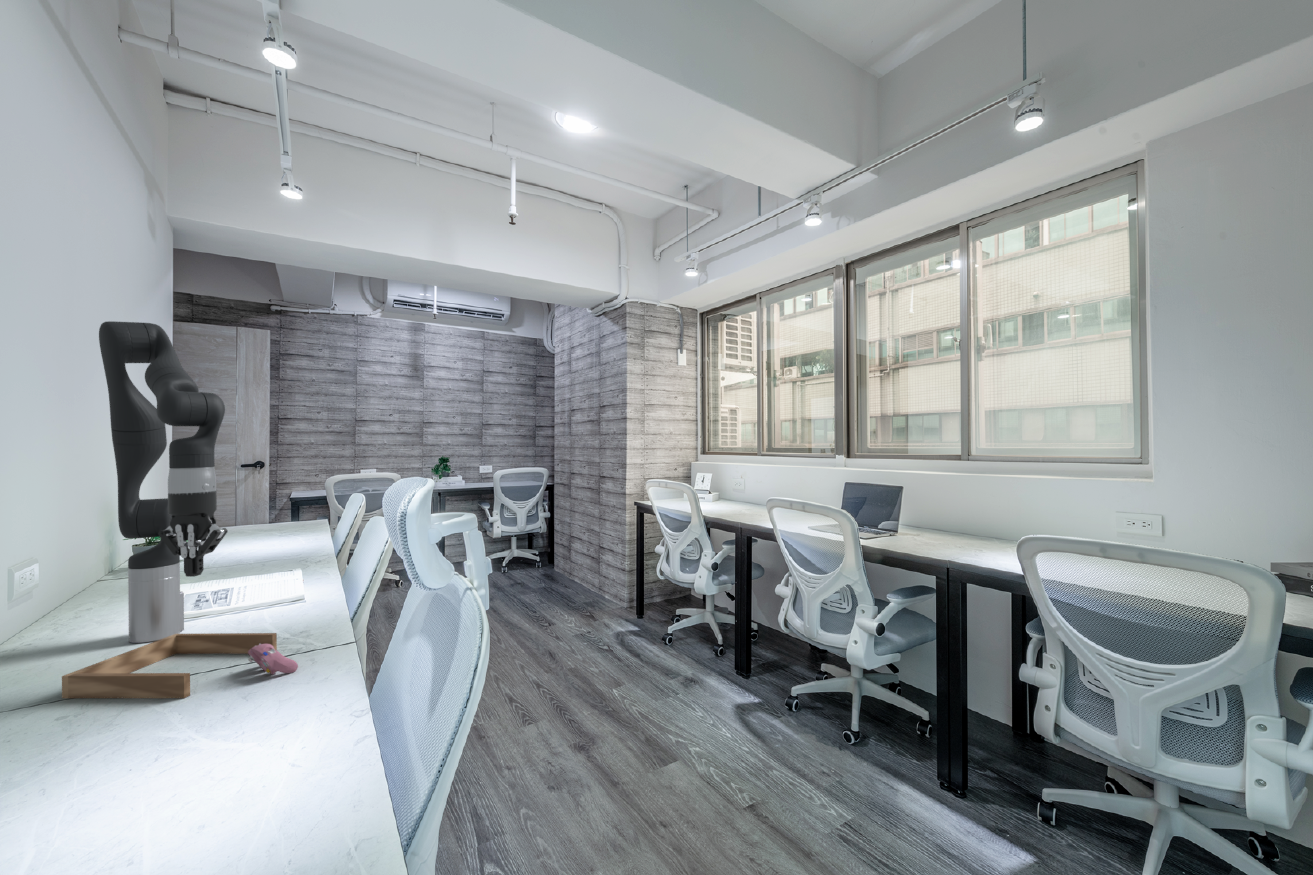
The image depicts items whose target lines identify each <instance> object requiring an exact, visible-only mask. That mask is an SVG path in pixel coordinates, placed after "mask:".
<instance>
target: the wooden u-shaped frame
mask: <svg viewBox="0 0 1313 875" xmlns="http://www.w3.org/2000/svg"><path fill="white" fill-rule="evenodd" d="M277 639H278V637H277V632H260V633H259V632H251V633H249V632H245V633H243V632H241V633H240V632H237V633H235V632H232V633H228V632H227V633H226V632H225V633H221V632H220V633H217V632H216V633H215V632H214V633H212V632H209V633H178V634H174V635H171V636H169V637H166V638H163V639H160V640H156V641H151V642H149V643H148V644H147V643H146V644H144V645H142V646H139V647H136V648H134V649H132V650H129V651H125V652H123V653H120V654H118V655H116V656H112V657H110V658H107V659H104V660H102V661H99V662H96V663H93V664H91V665H89V666H85V667H82V668H80V669H77V670H75V671H72V672H69V673H67V674H64V675H62V676H61V699H186V698H187V697H190V696H191V673H190V672H163V673H162V672H156V673H155V672H153V673H152V672H149V673H148V672H147V673H146V672H143V673H139V672H136V671H138V670H140V669H143V668H145V667H147V666H150V665H153V664H155V663H157V662H160V661H162V660H165V659H167V658H170V657H172V656H175V655H176V654H177V655H180V654H181V655H183V654H184V655H186V654H187V655H191V654H193V655H194V654H195V655H198V654H204V655H206V654H208V655H209V654H210V655H212V654H219V655H220V654H221V655H222V654H225V655H226V654H232V655H233V654H234V655H235V654H236V655H237V654H240V655H241V654H248V651H249V650H250V649H252V648H253V647H254V646H258V645H259V644H271V645H272V646H273V647H274V649H275V650H277V651H278V645H277V644H278V643H277V642H278V641H277ZM133 672H135V673H133Z"/></svg>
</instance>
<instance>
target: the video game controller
mask: <svg viewBox="0 0 1313 875" xmlns="http://www.w3.org/2000/svg"><path fill="white" fill-rule="evenodd" d="M247 654H248V655H249V657H247V660H248V661H249V662H250V663H253V662H255V663H256V664H257V665H258V666H259V668H261V670H263V671H264V672H266V673H268V674H271V676H273V675H275V673H277V672H279V673H284V674H292V673H294V672H296V671H297V670H298V668H299V664H298V662H296V661H295V660H293V659H291V658H289V657H286V656H285V655H283V654H282V653H280V651H278V649H277V650H275V649H274V647H273V646H272V645H271V644H259V645H258V646H254V647H253V648H252V649H250V650H249V651H248V653H247Z"/></svg>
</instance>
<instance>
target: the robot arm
mask: <svg viewBox="0 0 1313 875" xmlns="http://www.w3.org/2000/svg"><path fill="white" fill-rule="evenodd" d="M98 342H99V349H100V354H101V359H102V364H103V369H104V376H105V380H106V384H107V392H108V399H109V400H108V402H109V413H110V414H109V416H110V428H111V430H110V431H111V438H112V439H111V441H112V447H113V452H114V453H113V454H114V459H115V460H114V461H115V466H116V469H115V470H116V474H117V476H116V477H117V478H116V479H117V514H118V515H117V516H118V518H117V520H118V528H119V531H120V534H121V535H122V537H123V538H125V539H129V540H130V539H131V540H132V539H134V540H135V539H147V538H160V540H159V543H157V544H156V545H154V546H152V547H151V548H148V549H146V550H143V551H139V552H137V553H134V554H132V555H130V556H129V557H128V559H127V568H128V569H127V574H128V575H127V578H128V582H127V584H128V585H127V586H128V587H127V588H128V589H127V590H128V591H127V592H128V597H127V601H128V642H129V643H131V644H132V643H134V644H135V643H137V644H138V643H139V644H140V643H148V642H149V643H151V642H155V641H158V640H160V639H163V638H166V637H169V636H171V635H174V634H181V632H182V631H185V600H184V599H185V597H184V594H185V592H183V591H181V565H180V564H181V563H180V560H181V558H182V559H183V573H184V574H185V577H197V576H201V575H202V573H203V571H204V557H205V556H206V555H207V554H211V553H213V552H214V551H215V550H216V548H217V547H218V545H219V544H220V543H221V542H222V541H223V539H224V538H225V536H226V535H227V533H228V529H227V528H226V527H224V528H221V527H220V526H218V524H217V520H216V517H215V513H216V511H217V510H218V508H217V506H218V505H217V475H216V469H215V468H216V467H215V447H216V443H217V438H218V435H219V431H220V428H221V425H222V424H223V420H224V417H225V414H226V406H225V403H224V400H223V399H222V397H220V396H219V395H218V394H216V393H212V392H203V391H202V392H200V391H199V387H198V385H197V383H196V381H194V379H193V378H192V377H191V376H190V374H189V373H188V372H187V371H186V370H185V369H184V367H183V365H182V363H181V361H180V359H179V357H178V354H177V352H176V350H175V348H174V346H173V344H172V341H171V340H170V337H169V335H168V334H167V331H165V330H164V329H163V328H162V326H160V325H159V324H156V323H150V322H137V321H135V322H134V321H112V320H111V321H110V320H109V321H104V322H102V323H101V324H100V325H99V330H98ZM126 364H148V365H147V367H146V369H145V372H144V380H145V383H146V385H147V387H148V389H149V390H150V391H151V392H152V394H153V395H154V397H155V400H156V406H155V405H154V404H153V403H151V401H149V399H147V397H146V396H144V394H142V393H141V391H140V390H139V389H138V388H137V387H136V385H135V384H134V383H133V381H132V380H131V378H130V376H129V374H128V371H127V366H126ZM166 425H167V426H172V427H198V429H197V431H196V433H195V434H193V435H191V436H188V437H182V438H177V439H174V440H172V441H170V443H169V448H168V460H169V462H168V467H169V469H168V476H167V498H165V497H164V498H150V499H148V498H144V499H141V498H140V490H141V487H142V484H143V483H144V480H145V479H146V477H147V475H148V474H149V472H150V471H151V470H152V468H153V467H154V466H155V465H156V463H158V462H159V459H161V457H162V455H163V454H164V452H165V450H166V448H167V446H168V445H167V444H168V439H167V428H166V427H167V426H166Z"/></svg>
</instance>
